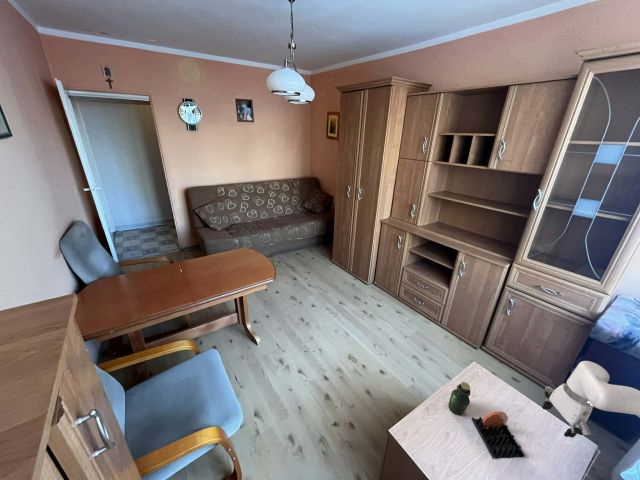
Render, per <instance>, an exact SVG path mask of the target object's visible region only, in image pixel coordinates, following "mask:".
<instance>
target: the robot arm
mask: <svg viewBox="0 0 640 480" xmlns="http://www.w3.org/2000/svg"><path fill="white" fill-rule="evenodd" d="M609 381H610V374H609V373H608V371H607V370H606V369H605V368H603V366H602V365H600V364H598V363H595V362H593V361H589V360H582V361H580V362H579V363H578V364H577V366H576V367H575V368H574V370H573V371H572V373H571V374H570V375H569V377H568V378H567V380H566V381H565V383H562V384H560V385H559V386H558V387H557V388H554V387H552V386H550V385H545V386H544V395H545V397H544V400H545V401H544V402H543V403H542V404H543V405H542V407H541V409H542V410H551V409H552V408H553V407H554V408H555V410H556V411H558V413H560V415H561V416H562V417H563V418H564V419H565V420H566V422H567V423H568V424H569V427H570V428H567V429H566V431H565V432H564V433H563V436H564V437H565V438H571V439H572V438H573V439H574V438H575V437H576V436H577V435H579V436H591V435H592V433H591V430H590V428H589V426H588V424H587V421H588V419H589V417H590V416H591V414H592V411H593V409H594V408H596V409H598V410H600V411H605V412H612V413H620V414H627V415H635V416H636V417H638V418H639V419H640V390H639V389H637V388H634V387H631V386H626V385H618V384H610V383H608V382H609Z"/></svg>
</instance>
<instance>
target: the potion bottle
mask: <svg viewBox="0 0 640 480" xmlns="http://www.w3.org/2000/svg"><path fill="white" fill-rule="evenodd" d="M470 396H471V386H470V384H469V383H468V382H466V381H462V382H461V383H460V384H458V385H457V386H456V388H454V389H453V390H452V391H451V393H450V396H449V401H448V404H447V406H448V409H449V411H450V412H451V413H452V414H453V415H455V416H457V417H459V416H462V415H463V413H465V411H466V410H467V408H468V407H469V405H470V403H471V400H470Z"/></svg>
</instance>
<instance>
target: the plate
mask: <svg viewBox="0 0 640 480" xmlns="http://www.w3.org/2000/svg"><path fill="white" fill-rule="evenodd" d="M508 417H509V416H508V415H507V413H505V412H503V411H494V412H490V413H489V414H487V415H485V416H484V417H483V418H482V419H483V420H482V423H483V425H484V426H487V429H489V427H490V426H492V429H494V428H495V426H497V427H500V426H501V425H503V424H505V425H506V424H507V422H508V420H509V418H508Z"/></svg>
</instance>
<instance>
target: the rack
mask: <svg viewBox="0 0 640 480" xmlns="http://www.w3.org/2000/svg"><path fill="white" fill-rule="evenodd" d="M482 420H483V418H482V416H479V417H478V418H475V417H473V416H472V417H471V421H472V423H473V425H474V427H475V429H476V430H477V432H478V434H479V436H480V438H481V440H482V442H483V444H484V446H485V447H486V449H487V451H488V453H489V455H490V456H491V457H490V458H492V459H495V460H496V459H517V458H518V459H520V458H521V459H522V458H525V457H526V454H525V453H524V452H523V450H522V446H521V445H519V444H518V442H517V440H516V439H515V435H514V434H512V433H511V431H510V429H509V425H507V424H506V423H505V424H503V425H501V426H500V427H497V426H495V428H494V429H492V426H490V427H489V429H487V426H484V425H483V423H482Z"/></svg>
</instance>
